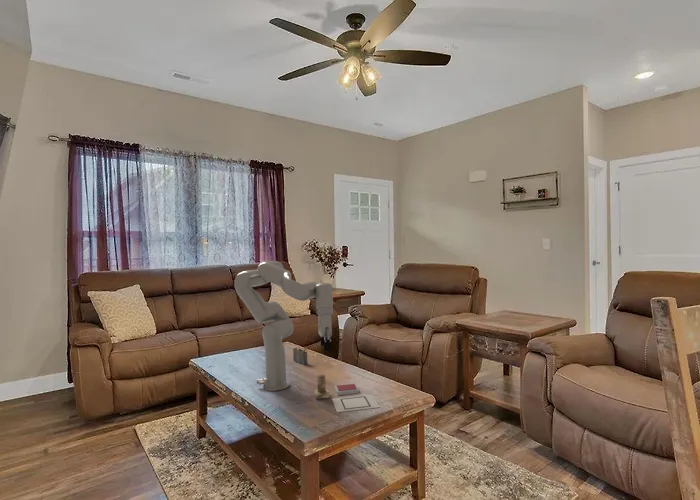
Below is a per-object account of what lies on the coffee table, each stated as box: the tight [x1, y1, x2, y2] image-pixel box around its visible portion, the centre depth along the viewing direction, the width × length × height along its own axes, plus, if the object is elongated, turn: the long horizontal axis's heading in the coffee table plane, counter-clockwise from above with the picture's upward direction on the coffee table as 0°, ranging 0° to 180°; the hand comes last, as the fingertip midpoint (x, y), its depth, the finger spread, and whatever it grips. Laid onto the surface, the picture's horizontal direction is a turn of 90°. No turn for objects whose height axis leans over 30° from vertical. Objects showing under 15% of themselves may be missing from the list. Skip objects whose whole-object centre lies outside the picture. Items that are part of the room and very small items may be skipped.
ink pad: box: [334, 383, 360, 396], centre depth 186 cm, size 10×8×2 cm
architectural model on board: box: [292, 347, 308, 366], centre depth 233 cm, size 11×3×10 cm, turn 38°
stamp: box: [314, 374, 330, 401], centre depth 180 cm, size 6×6×10 cm
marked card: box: [331, 393, 380, 414], centre depth 171 cm, size 18×14×1 cm
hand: (326, 347), depth 182 cm, fingers open, 9 cm apart
